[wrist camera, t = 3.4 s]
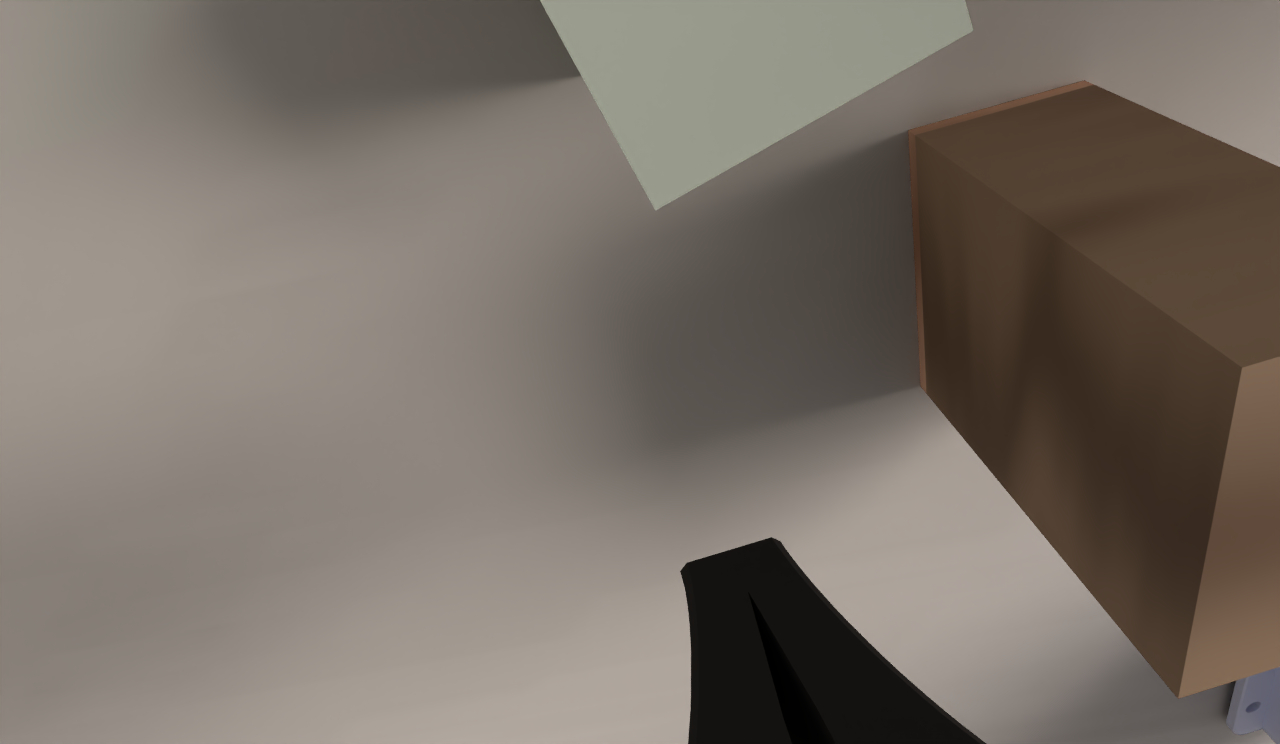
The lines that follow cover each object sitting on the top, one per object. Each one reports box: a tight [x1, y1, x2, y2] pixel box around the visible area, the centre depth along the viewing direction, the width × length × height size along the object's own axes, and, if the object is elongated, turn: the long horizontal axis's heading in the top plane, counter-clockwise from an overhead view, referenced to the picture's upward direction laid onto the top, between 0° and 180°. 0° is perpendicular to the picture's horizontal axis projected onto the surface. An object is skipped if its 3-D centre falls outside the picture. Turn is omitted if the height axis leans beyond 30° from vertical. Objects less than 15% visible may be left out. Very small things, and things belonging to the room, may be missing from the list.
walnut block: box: [908, 81, 1280, 699], centre depth 15 cm, size 6×4×8 cm, turn 12°
